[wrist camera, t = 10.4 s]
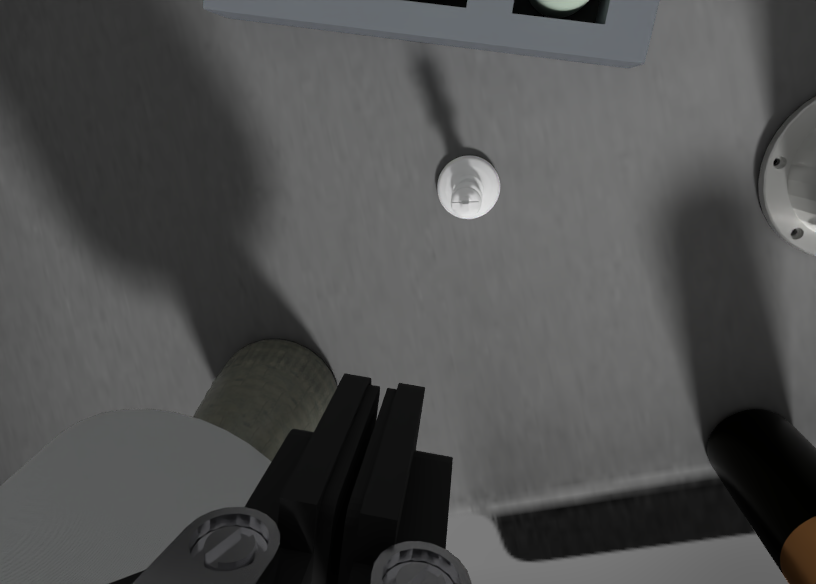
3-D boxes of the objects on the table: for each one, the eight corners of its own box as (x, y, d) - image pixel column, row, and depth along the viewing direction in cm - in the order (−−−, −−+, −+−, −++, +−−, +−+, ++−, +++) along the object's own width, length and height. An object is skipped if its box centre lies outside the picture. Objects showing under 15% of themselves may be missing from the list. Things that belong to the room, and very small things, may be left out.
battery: (799, 405, 46) (1019, 607, 27) (790, 479, 48) (988, 714, 30) (707, 407, 47) (858, 602, 28) (702, 479, 49) (839, 706, 31)
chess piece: (436, 156, 44) (423, 168, 34) (500, 154, 43) (505, 165, 34) (438, 219, 45) (427, 247, 36) (500, 217, 45) (505, 245, 35)
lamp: (170, 440, 55) (-365, 1006, 20) (206, 268, 49) (-468, 650, 14) (349, 504, 55) (119, 1191, 20) (407, 338, 49) (224, 906, 14)
